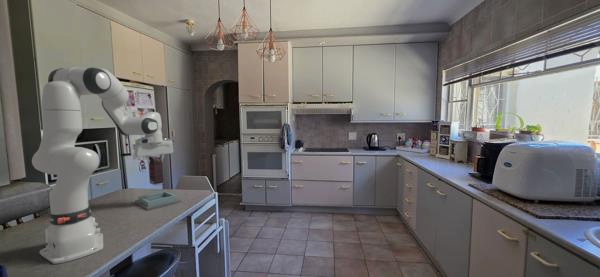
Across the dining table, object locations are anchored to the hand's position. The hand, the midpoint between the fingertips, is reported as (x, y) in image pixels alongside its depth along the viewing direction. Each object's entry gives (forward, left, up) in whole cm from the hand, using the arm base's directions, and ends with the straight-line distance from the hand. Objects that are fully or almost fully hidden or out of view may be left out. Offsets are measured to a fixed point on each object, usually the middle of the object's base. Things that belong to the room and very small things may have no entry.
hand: (155, 162), depth 151 cm
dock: (0, 0, -24) cm, 24 cm away
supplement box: (0, 0, -13) cm, 13 cm away
